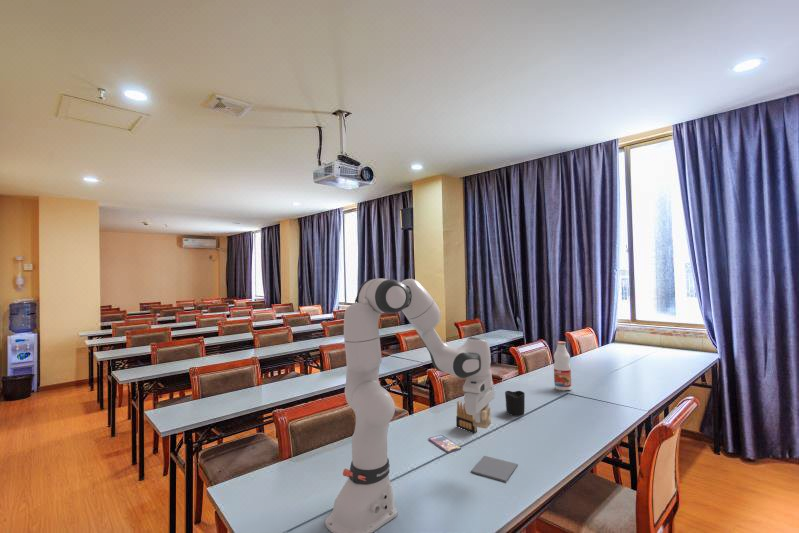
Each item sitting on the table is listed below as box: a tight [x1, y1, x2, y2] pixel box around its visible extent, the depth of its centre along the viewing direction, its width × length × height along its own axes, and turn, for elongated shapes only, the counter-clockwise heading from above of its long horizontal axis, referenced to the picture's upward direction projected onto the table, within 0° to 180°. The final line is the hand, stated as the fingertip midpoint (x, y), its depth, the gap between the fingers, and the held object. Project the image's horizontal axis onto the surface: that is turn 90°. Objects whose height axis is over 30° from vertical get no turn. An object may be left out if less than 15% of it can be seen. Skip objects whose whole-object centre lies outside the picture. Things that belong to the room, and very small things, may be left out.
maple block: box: [472, 406, 492, 429], centre depth 141 cm, size 5×5×6 cm
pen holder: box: [504, 390, 526, 416], centre depth 194 cm, size 9×9×10 cm
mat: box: [470, 455, 519, 483], centre depth 140 cm, size 13×13×1 cm
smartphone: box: [428, 434, 462, 454], centre depth 161 cm, size 1×7×15 cm
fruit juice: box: [553, 340, 573, 391], centre depth 229 cm, size 9×9×28 cm
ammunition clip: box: [455, 401, 478, 434], centre depth 175 cm, size 11×2×12 cm, turn 41°
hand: (481, 418), depth 141 cm, fingers closed on maple block, 5 cm apart
